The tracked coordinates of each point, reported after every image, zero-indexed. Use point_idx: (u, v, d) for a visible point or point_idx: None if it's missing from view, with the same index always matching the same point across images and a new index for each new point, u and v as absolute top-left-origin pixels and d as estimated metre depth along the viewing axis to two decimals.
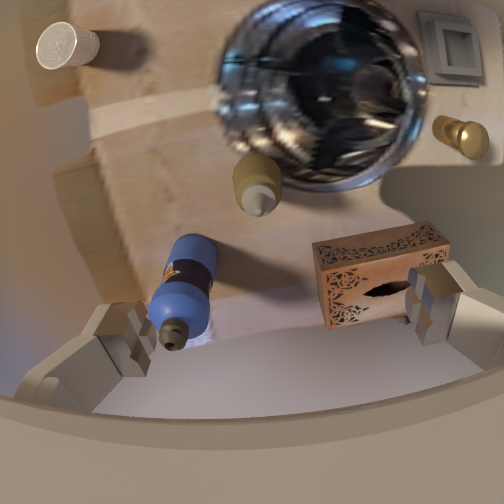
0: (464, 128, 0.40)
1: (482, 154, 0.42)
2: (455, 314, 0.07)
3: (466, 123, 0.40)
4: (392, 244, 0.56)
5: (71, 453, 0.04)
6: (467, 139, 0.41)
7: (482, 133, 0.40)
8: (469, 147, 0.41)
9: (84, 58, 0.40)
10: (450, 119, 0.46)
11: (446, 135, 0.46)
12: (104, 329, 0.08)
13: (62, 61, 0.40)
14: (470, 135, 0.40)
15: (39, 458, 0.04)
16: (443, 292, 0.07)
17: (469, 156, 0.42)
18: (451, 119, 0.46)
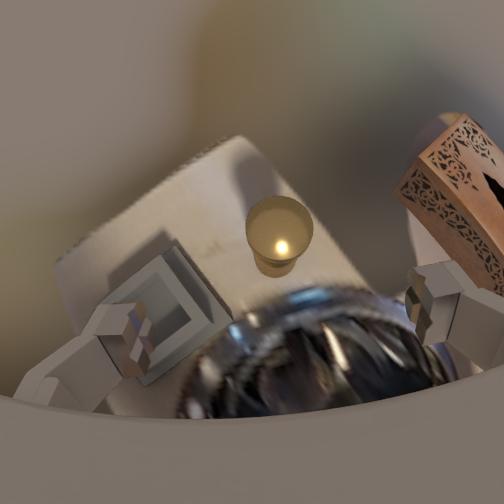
0: (277, 260, 0.30)
1: (286, 199, 0.31)
2: (455, 314, 0.07)
3: (264, 258, 0.31)
4: (464, 234, 0.35)
5: (71, 453, 0.04)
6: (289, 244, 0.30)
7: (257, 222, 0.31)
8: (297, 231, 0.30)
9: None
10: (263, 266, 0.37)
11: (293, 262, 0.35)
12: (104, 329, 0.08)
13: None
14: (279, 243, 0.30)
15: (39, 458, 0.04)
16: (443, 292, 0.07)
17: (309, 221, 0.30)
18: (262, 265, 0.37)
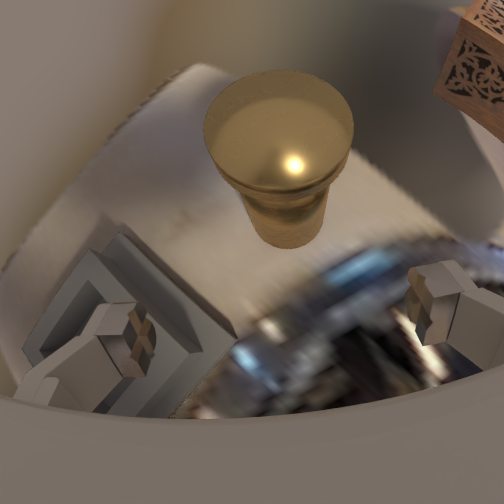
0: (290, 188, 0.12)
1: (279, 74, 0.14)
2: (454, 314, 0.07)
3: (261, 195, 0.13)
4: None
5: (71, 453, 0.04)
6: (309, 147, 0.12)
7: (228, 123, 0.13)
8: (319, 121, 0.13)
9: None
10: (268, 227, 0.19)
11: (322, 205, 0.18)
12: (104, 329, 0.08)
13: None
14: (285, 150, 0.12)
15: (39, 458, 0.04)
16: (443, 292, 0.07)
17: (337, 100, 0.13)
18: (266, 225, 0.19)
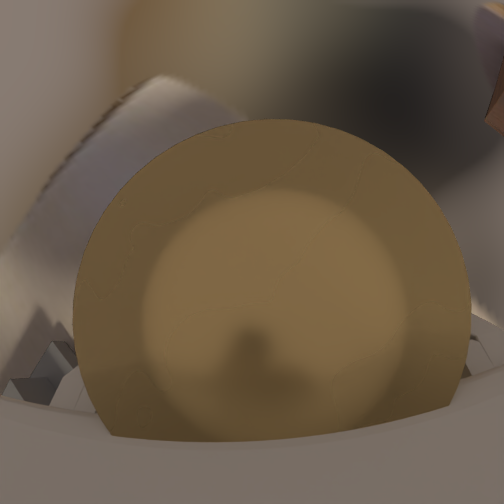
0: None
1: (270, 134, 0.05)
2: None
3: None
4: None
5: (71, 453, 0.04)
6: (350, 415, 0.04)
7: (125, 312, 0.05)
8: (386, 317, 0.04)
9: None
10: None
11: None
12: None
13: None
14: (281, 423, 0.04)
15: (39, 458, 0.04)
16: None
17: (435, 231, 0.04)
18: None
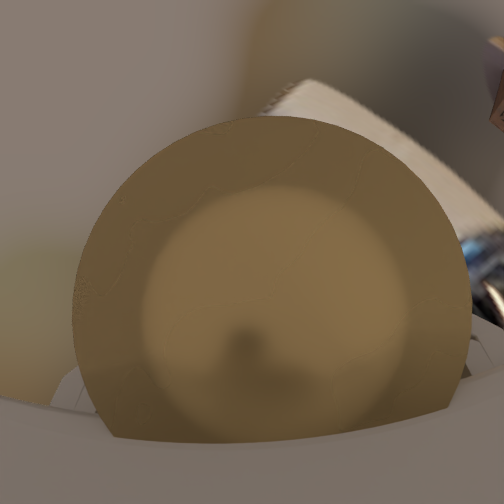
0: None
1: (270, 131, 0.05)
2: None
3: None
4: None
5: (71, 453, 0.04)
6: (350, 412, 0.04)
7: (125, 308, 0.05)
8: (386, 313, 0.04)
9: None
10: None
11: None
12: None
13: None
14: (281, 420, 0.04)
15: (39, 458, 0.04)
16: None
17: (435, 227, 0.04)
18: None
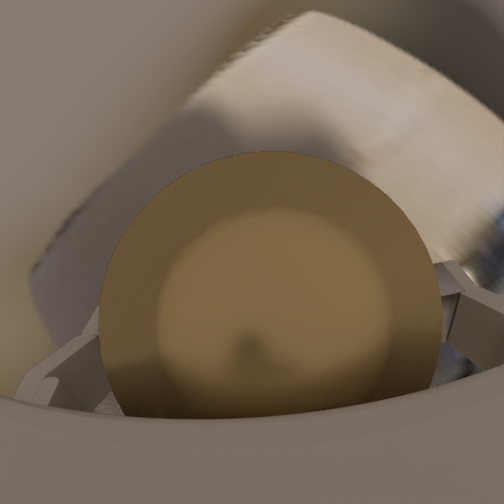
0: None
1: (269, 165, 0.06)
2: (455, 314, 0.07)
3: None
4: None
5: (71, 453, 0.04)
6: (335, 408, 0.05)
7: (145, 322, 0.06)
8: (365, 327, 0.05)
9: None
10: None
11: None
12: None
13: None
14: (278, 414, 0.05)
15: (39, 458, 0.04)
16: (443, 292, 0.07)
17: (412, 253, 0.05)
18: None
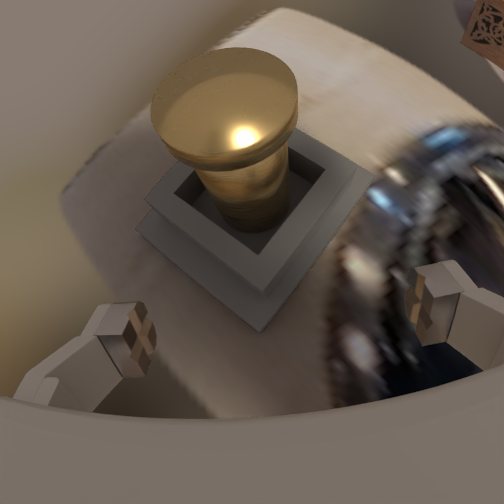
0: (229, 154, 0.12)
1: (227, 51, 0.13)
2: (455, 314, 0.07)
3: (203, 164, 0.13)
4: None
5: (71, 453, 0.04)
6: (249, 114, 0.12)
7: (174, 99, 0.13)
8: (262, 89, 0.12)
9: None
10: (227, 207, 0.19)
11: (280, 182, 0.17)
12: (104, 329, 0.08)
13: None
14: (225, 118, 0.12)
15: (39, 458, 0.04)
16: (443, 292, 0.07)
17: (283, 69, 0.12)
18: (225, 205, 0.19)
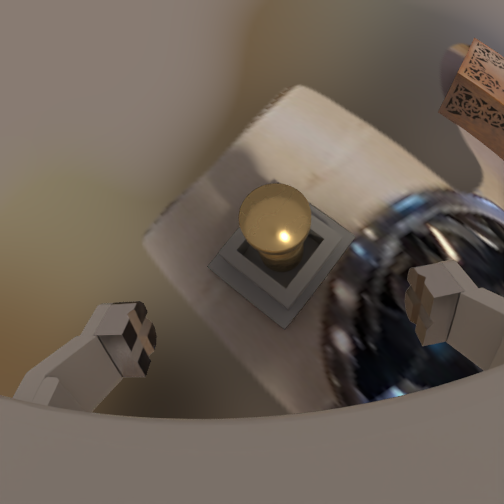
0: (279, 251, 0.28)
1: (276, 186, 0.29)
2: (455, 314, 0.07)
3: (266, 252, 0.29)
4: None
5: (71, 453, 0.04)
6: (288, 231, 0.28)
7: (250, 216, 0.29)
8: (294, 217, 0.28)
9: None
10: (269, 261, 0.35)
11: (299, 251, 0.33)
12: (104, 329, 0.08)
13: None
14: (277, 232, 0.28)
15: (39, 458, 0.04)
16: (443, 292, 0.07)
17: (305, 204, 0.28)
18: (268, 260, 0.34)
